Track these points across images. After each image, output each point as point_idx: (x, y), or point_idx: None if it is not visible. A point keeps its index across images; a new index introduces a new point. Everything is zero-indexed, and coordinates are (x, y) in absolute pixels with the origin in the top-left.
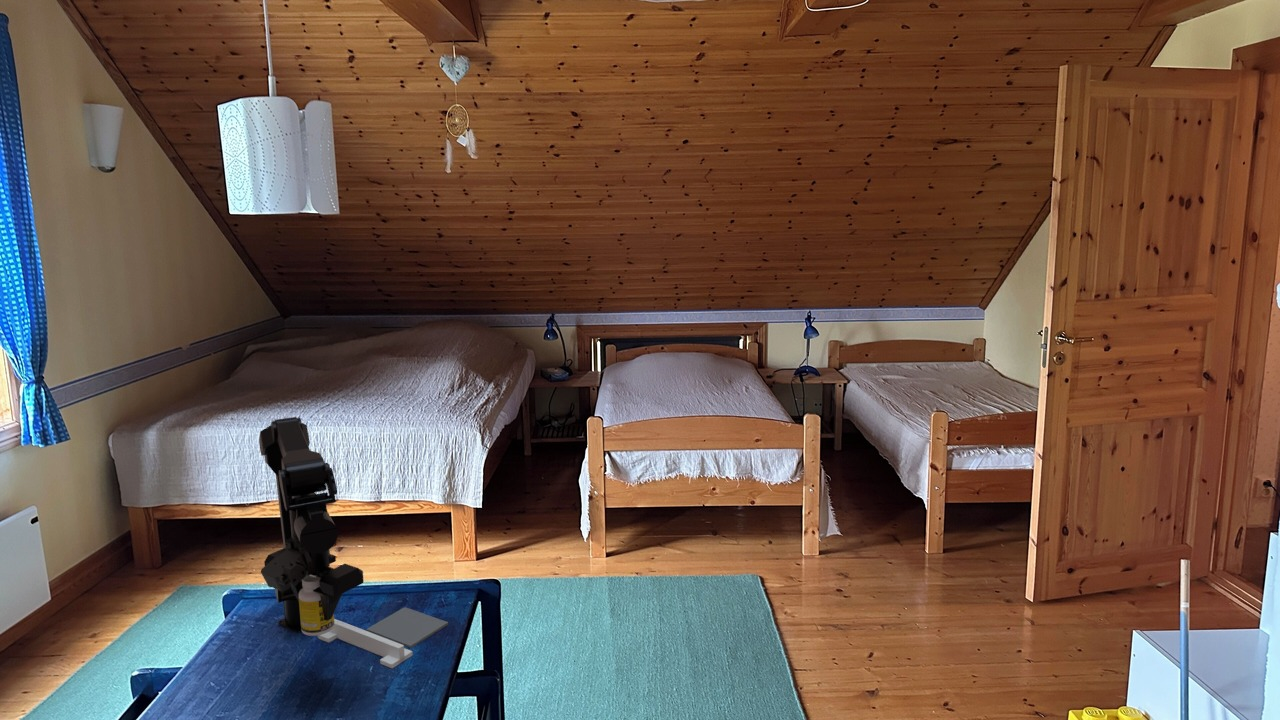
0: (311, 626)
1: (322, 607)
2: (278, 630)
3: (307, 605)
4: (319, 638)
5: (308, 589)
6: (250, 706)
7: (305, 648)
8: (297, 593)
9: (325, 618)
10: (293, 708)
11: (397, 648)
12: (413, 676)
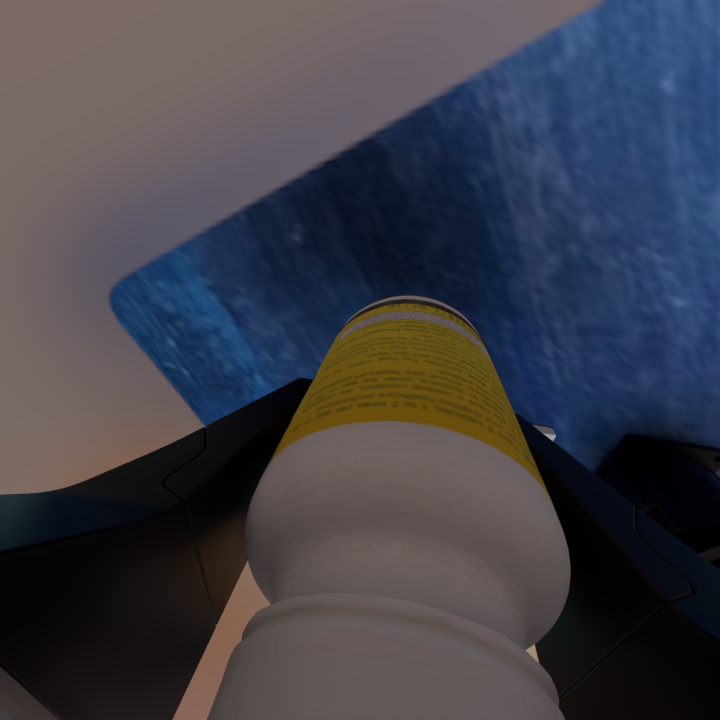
0: (368, 319)
1: (264, 422)
2: (703, 429)
3: (362, 396)
4: (546, 428)
5: (364, 590)
6: (541, 59)
7: (559, 386)
8: (605, 523)
9: (298, 382)
10: (384, 133)
11: None
12: (226, 374)
